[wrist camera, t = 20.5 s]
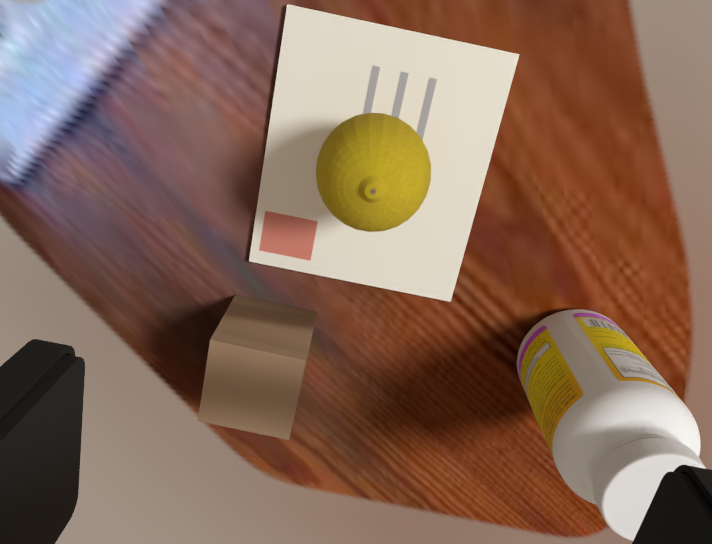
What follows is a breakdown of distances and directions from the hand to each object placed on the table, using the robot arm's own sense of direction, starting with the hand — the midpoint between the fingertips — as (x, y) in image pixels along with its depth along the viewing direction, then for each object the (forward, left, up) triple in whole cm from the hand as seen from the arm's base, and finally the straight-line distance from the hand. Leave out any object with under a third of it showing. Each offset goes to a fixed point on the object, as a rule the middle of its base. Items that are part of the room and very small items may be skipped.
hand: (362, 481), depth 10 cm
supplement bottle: (+9, +14, -26) cm, 31 cm away
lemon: (0, 0, -26) cm, 26 cm away
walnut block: (+12, -4, -26) cm, 29 cm away
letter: (0, 0, -26) cm, 26 cm away
